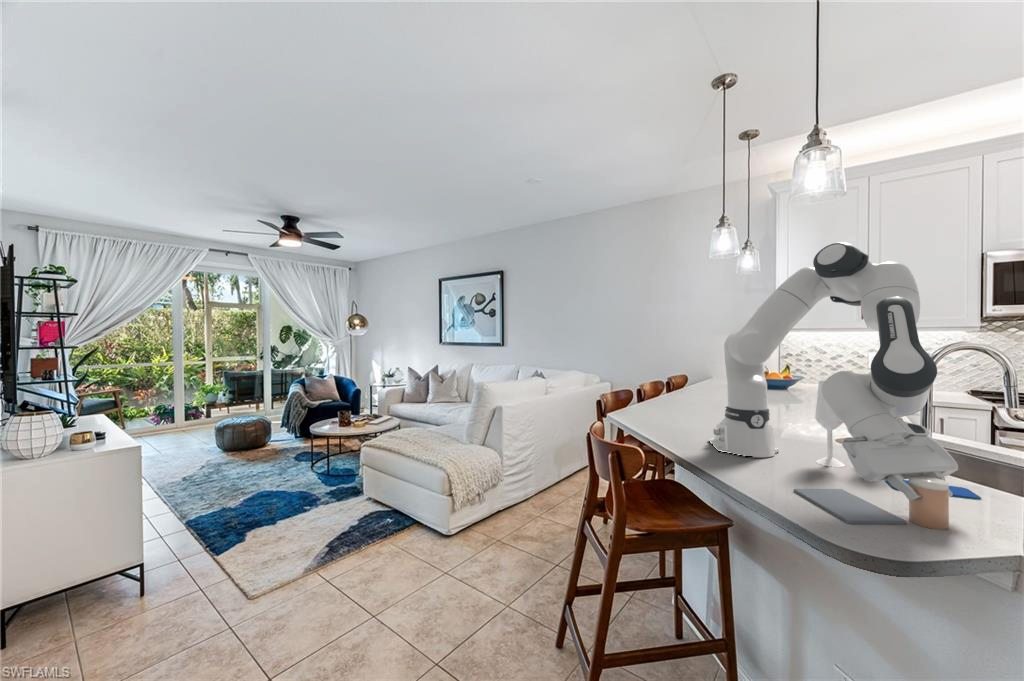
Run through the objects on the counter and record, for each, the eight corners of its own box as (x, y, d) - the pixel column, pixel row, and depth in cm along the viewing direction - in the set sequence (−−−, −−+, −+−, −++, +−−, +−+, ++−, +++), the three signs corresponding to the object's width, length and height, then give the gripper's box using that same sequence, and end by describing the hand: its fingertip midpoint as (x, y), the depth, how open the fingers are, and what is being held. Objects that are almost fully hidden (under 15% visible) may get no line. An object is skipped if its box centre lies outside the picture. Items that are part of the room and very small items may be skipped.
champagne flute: (851, 465, 115) (850, 381, 115) (832, 468, 114) (831, 382, 114) (827, 459, 122) (827, 378, 122) (809, 461, 120) (808, 379, 120)
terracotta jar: (901, 516, 83) (900, 475, 83) (929, 517, 83) (929, 475, 83) (927, 529, 78) (926, 485, 78) (957, 529, 77) (957, 485, 77)
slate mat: (793, 491, 98) (793, 488, 98) (841, 491, 97) (841, 488, 97) (848, 523, 81) (848, 520, 81) (906, 524, 80) (906, 521, 80)
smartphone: (983, 498, 91) (894, 486, 98) (983, 503, 91) (894, 490, 98) (966, 487, 97) (883, 477, 104) (965, 491, 97) (883, 480, 104)
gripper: (847, 430, 86) (897, 494, 76) (931, 426, 88) (990, 487, 79) (828, 446, 90) (873, 508, 81) (909, 441, 93) (962, 501, 83)
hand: (931, 498), depth 80 cm, fingers closed on terracotta jar, 5 cm apart
